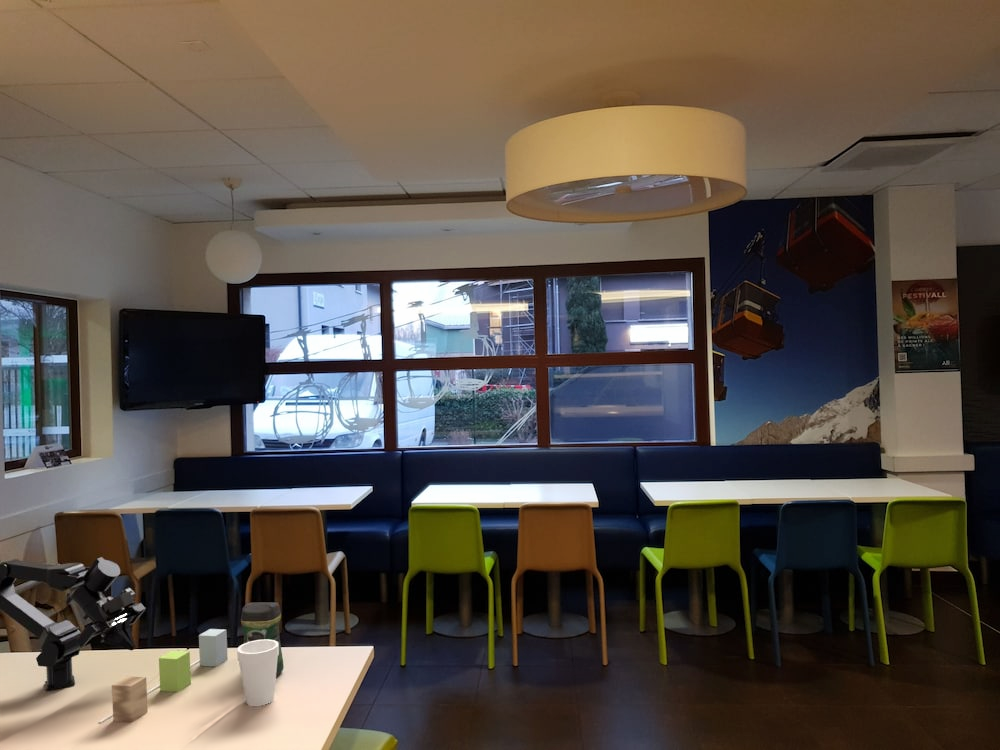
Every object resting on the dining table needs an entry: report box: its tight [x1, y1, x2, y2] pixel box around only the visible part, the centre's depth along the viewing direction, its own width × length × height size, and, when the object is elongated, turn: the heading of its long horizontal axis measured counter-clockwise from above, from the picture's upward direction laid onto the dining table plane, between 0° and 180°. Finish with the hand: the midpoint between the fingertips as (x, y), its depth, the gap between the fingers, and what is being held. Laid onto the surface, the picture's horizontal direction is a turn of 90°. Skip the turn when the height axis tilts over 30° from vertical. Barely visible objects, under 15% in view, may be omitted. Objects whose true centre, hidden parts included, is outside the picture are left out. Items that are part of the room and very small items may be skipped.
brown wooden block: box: [111, 675, 149, 723], centre depth 174 cm, size 5×5×8 cm
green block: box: [158, 650, 192, 693], centre depth 190 cm, size 5×5×8 cm
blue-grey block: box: [198, 628, 229, 667], centre depth 205 cm, size 5×5×8 cm
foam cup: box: [236, 639, 279, 707], centre depth 183 cm, size 10×9×13 cm
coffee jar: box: [240, 601, 284, 677], centre depth 199 cm, size 10×8×19 cm
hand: (134, 648), depth 192 cm, fingers closed
